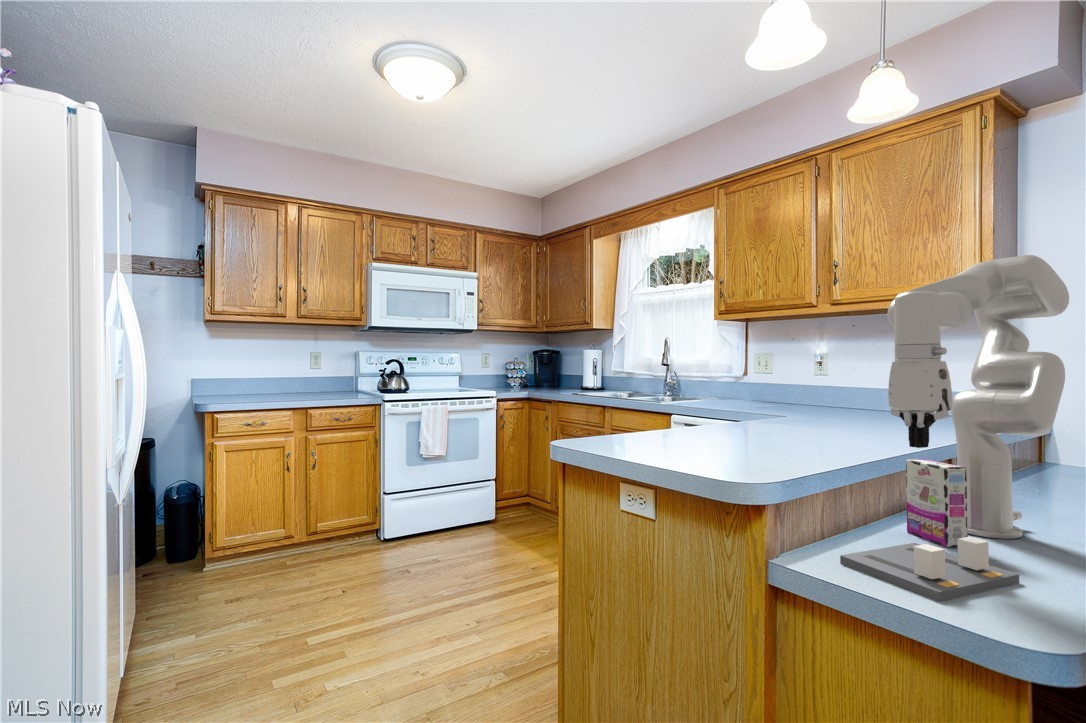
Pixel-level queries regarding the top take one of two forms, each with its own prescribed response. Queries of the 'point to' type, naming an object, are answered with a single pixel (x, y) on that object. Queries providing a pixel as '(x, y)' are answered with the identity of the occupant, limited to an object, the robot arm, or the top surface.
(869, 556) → the panel
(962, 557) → the block
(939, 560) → the block
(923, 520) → the candy bar box
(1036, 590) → the top surface
